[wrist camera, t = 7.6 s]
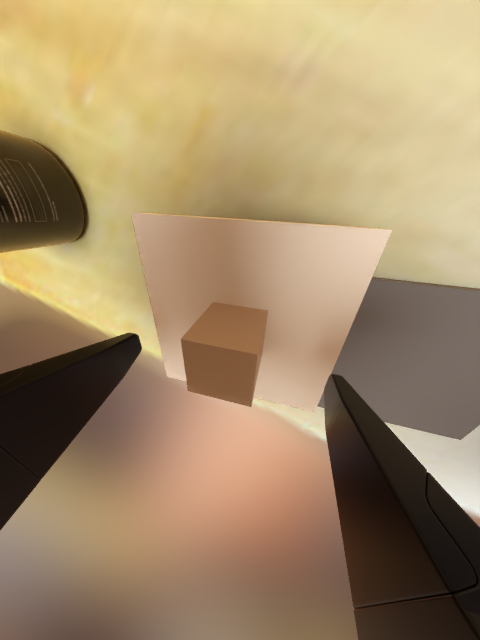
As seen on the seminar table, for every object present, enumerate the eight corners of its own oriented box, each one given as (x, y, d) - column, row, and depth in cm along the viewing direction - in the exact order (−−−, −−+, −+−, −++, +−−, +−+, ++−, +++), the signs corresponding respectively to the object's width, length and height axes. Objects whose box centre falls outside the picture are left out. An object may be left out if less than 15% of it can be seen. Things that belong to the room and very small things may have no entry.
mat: (613, 303, 10) (626, 307, 10) (456, 434, 17) (460, 439, 16) (352, 275, 12) (354, 277, 12) (306, 399, 19) (307, 403, 18)
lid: (381, 227, 8) (471, 242, 4) (313, 399, 13) (321, 474, 9) (145, 212, 10) (47, 212, 6) (173, 367, 15) (134, 418, 11)
